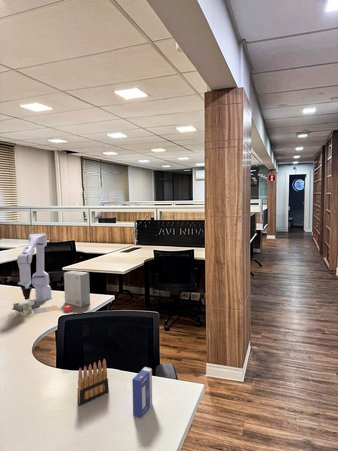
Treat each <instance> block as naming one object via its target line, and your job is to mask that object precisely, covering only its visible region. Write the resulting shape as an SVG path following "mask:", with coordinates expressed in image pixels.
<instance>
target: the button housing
mask: <svg viewBox="0 0 338 451" xmlns="http://www.w3.org/2000/svg"><path fill="white" fill-rule="evenodd" d="M30 300H31V301H34V305H31V308H32V309H38V308H41V304H40V303H41V302H38V301H35V300H33V299H30ZM18 303H19V302H17V303H16V302H15V303H13V306H12V307H13V309H15V310H18V311H19V312H20V311H22V312H23V307H20V306H18Z"/></svg>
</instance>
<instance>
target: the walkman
mask: <svg viewBox="0 0 338 451" xmlns="http://www.w3.org/2000/svg"><path fill="white" fill-rule="evenodd" d="M131 383H132V384H131V386H132V416H133V417H136V418H140V419H141V418H142V417H143V416H144V415H145V414H146V412H147V411H148V410H149V408H151V406H152V405H153V369H152V368H151V367H147V366H144V367H143V368H142V369H141V370H140V371H138V373H137V374H136V375H135V376H134V377H132V382H131Z"/></svg>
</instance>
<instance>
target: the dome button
mask: <svg viewBox="0 0 338 451" xmlns="http://www.w3.org/2000/svg"><path fill="white" fill-rule="evenodd" d="M31 300H32V299H28V300H23V301H19V302H17V303H18V306H20V307H23V304H26V303H31V305H34V301H35V300H33V301H31Z"/></svg>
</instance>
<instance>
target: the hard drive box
mask: <svg viewBox="0 0 338 451" xmlns="http://www.w3.org/2000/svg"><path fill="white" fill-rule="evenodd" d="M63 285H64V303H65V304H66V305H71V306H76V307H80V308H81V307H86V306H88V305H90V304H91V295H90V294H91V293H90V291H91V290H90V288H91V287H90V272H87V271H86V272H84V271H78V270H70V271H66V272H63Z"/></svg>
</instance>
